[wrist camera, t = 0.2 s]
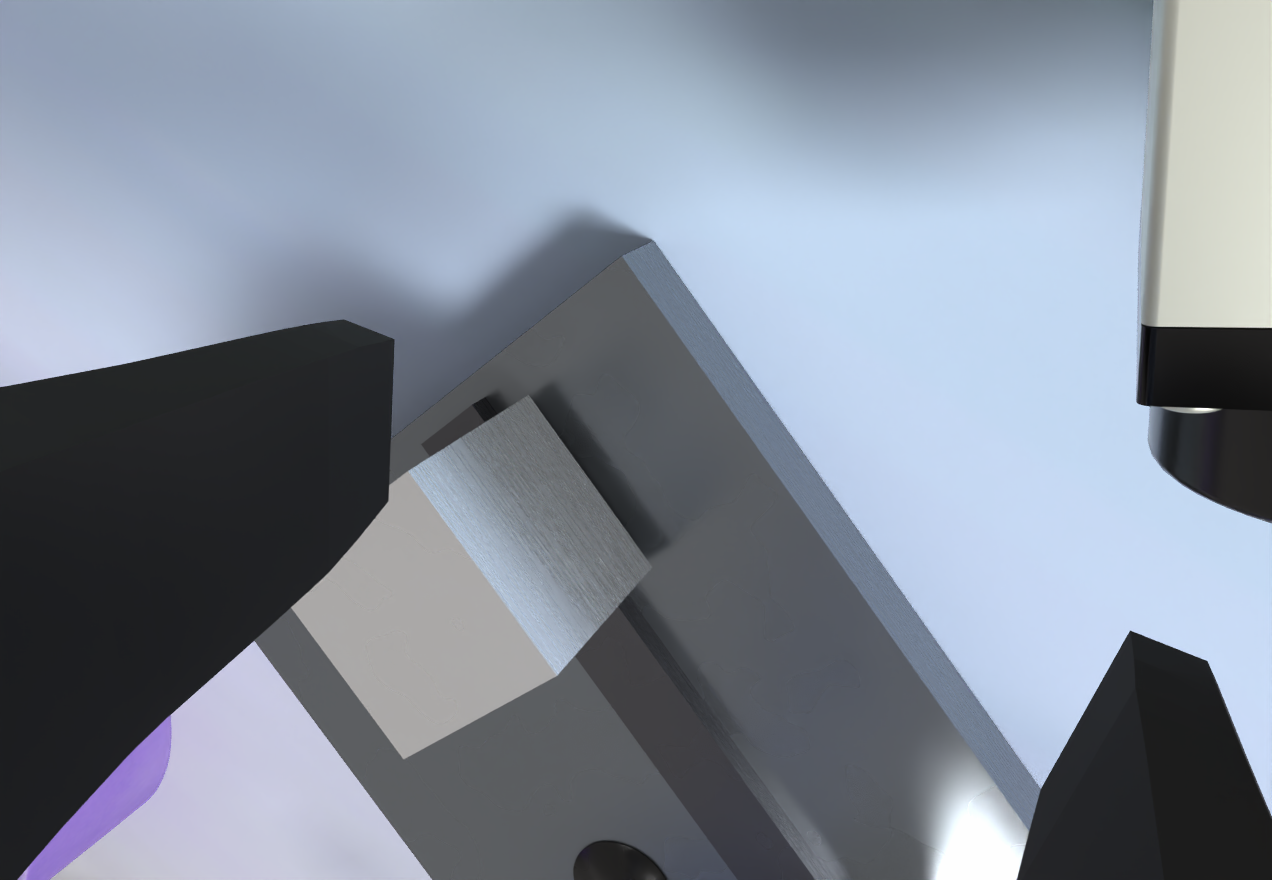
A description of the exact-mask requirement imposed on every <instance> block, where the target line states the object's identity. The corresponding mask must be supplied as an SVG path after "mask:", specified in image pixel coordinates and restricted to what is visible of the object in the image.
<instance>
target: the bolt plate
mask: <svg viewBox="0 0 1272 880" xmlns="http://www.w3.org/2000/svg"><path fill="white" fill-rule="evenodd" d="M254 641H255V642H256V643H257V645H258V646H259V648H260V649H261V650H262V652H263V653H264V654H265V656H266V657H267V658H268V660H269V661H270V662H271V664H272V665H273V666H274V668H275V669H276V670H277V672H278V673H279V674H280V676H281V677H282V678H283V680H284V681H285V682H286V684H287V685H288V686H289V688H290V689H291V690H292V692H293V693H294V695H295V696H296V697H297V699H298V700H299V701H300V703H301V704H302V705H303V707H304V708H305V709H306V711H307V712H308V713H309V715H310V716H311V717H312V719H313V720H314V721H315V723H316V724H317V725H318V727H319V728H320V729H321V731H322V732H323V733H324V735H325V736H326V737H327V739H328V740H329V742H330V743H331V744H332V746H333V747H334V748H335V750H336V751H337V752H338V754H339V755H340V756H341V758H342V759H343V760H344V762H345V763H346V764H347V766H348V767H349V768H350V770H351V771H352V772H353V774H354V775H355V776H356V778H357V779H358V780H359V782H360V783H361V784H362V786H363V787H364V789H365V790H366V791H367V793H368V794H369V795H370V797H371V798H372V799H373V801H374V802H375V803H376V805H377V806H378V807H379V809H380V810H381V811H382V813H383V814H384V815H385V817H386V818H387V819H388V821H389V822H390V823H391V825H392V826H393V827H394V829H395V830H396V831H397V833H398V834H399V835H400V837H401V838H402V840H403V841H404V842H405V844H406V845H407V846H408V848H409V849H410V850H411V852H412V853H413V854H414V856H415V857H416V858H417V860H418V861H419V862H420V864H421V865H422V866H423V868H424V869H425V870H426V872H427V873H428V874H429V876H430V877H431V878H432V880H1017V876H1018V872H1019V868H1020V865H1021V861H1022V857H1023V853H1024V849H1025V845H1026V841H1027V838H1028V834H1029V830H1030V827H1031V823H1032V819H1033V815H1034V812H1035V808H1036V804H1037V801H1038V797H1039V793H1040V790H1041V789H1040V788H1039V786H1038V785H1037V784H1036V782H1035V781H1034V779H1033V778H1032V776H1031V775H1030V774H1029V772H1028V771H1027V769H1026V768H1025V767H1024V765H1023V764H1022V762H1021V761H1020V759H1019V758H1018V757H1017V755H1016V754H1015V752H1014V751H1013V750H1012V748H1011V747H1010V745H1009V744H1008V742H1007V741H1006V740H1005V738H1004V737H1003V735H1002V734H1001V733H1000V731H999V730H998V728H997V727H996V725H995V724H994V723H993V721H992V720H991V718H990V717H989V716H988V714H987V713H986V711H985V710H984V708H983V707H982V706H981V704H980V703H979V701H978V700H977V699H976V697H975V696H974V694H973V693H972V691H971V690H970V689H969V687H968V686H967V684H966V683H965V681H964V680H963V679H962V677H961V676H960V674H959V673H958V672H957V670H956V669H955V667H954V666H953V664H952V663H951V662H950V660H949V659H948V657H947V656H946V655H945V653H944V652H943V650H942V649H941V647H940V646H939V645H938V643H937V642H936V640H935V639H934V638H933V636H932V635H931V633H930V632H929V630H928V629H927V628H926V626H925V625H924V623H923V622H922V621H921V619H920V618H919V616H918V615H917V613H916V612H915V611H914V609H913V608H912V606H911V605H910V604H909V602H908V601H907V599H906V598H905V596H904V595H903V594H902V592H901V591H900V589H899V588H898V587H897V585H896V584H895V582H894V581H893V579H892V578H891V577H890V575H889V574H888V572H887V571H886V569H885V568H884V567H883V565H882V564H881V562H880V561H879V560H878V558H877V557H876V555H875V554H874V552H873V551H872V550H871V548H870V547H869V545H868V544H867V543H866V541H865V540H864V538H863V537H862V535H861V534H860V533H859V531H858V530H857V528H856V527H855V526H854V524H853V523H852V521H851V520H850V518H849V517H848V516H847V514H846V513H845V511H844V510H843V509H842V507H841V506H840V504H839V503H838V501H837V500H836V499H835V497H834V496H833V494H832V493H831V492H830V490H829V489H828V487H827V486H826V484H825V483H824V482H823V480H822V479H821V477H820V476H819V475H818V473H817V472H816V470H815V469H814V467H813V466H812V465H811V463H810V462H809V460H808V459H807V457H806V456H805V455H804V453H803V452H802V450H801V449H800V448H799V446H798V445H797V443H796V442H795V440H794V439H793V438H792V436H791V435H790V433H789V432H788V431H787V429H786V428H785V426H784V425H783V423H782V422H781V421H780V419H779V418H778V416H777V415H776V414H775V412H774V411H773V409H772V408H771V406H770V405H769V404H768V402H767V401H766V399H765V398H764V397H763V395H762V394H761V392H760V391H759V389H758V388H757V387H756V385H755V384H754V382H753V381H752V380H751V378H750V377H749V375H748V374H747V372H746V371H745V370H744V368H743V367H742V365H741V364H740V363H739V361H738V360H737V358H736V357H735V355H734V354H733V353H732V351H731V350H730V348H729V347H728V345H727V344H726V343H725V341H724V340H723V338H722V337H721V336H720V334H719V333H718V331H717V330H716V328H715V327H714V326H713V324H712V323H711V321H710V320H709V319H708V317H707V316H706V314H705V313H704V311H703V310H702V309H701V307H700V306H699V304H698V303H697V302H696V300H695V299H694V297H693V296H692V294H691V293H690V292H689V290H688V289H687V287H686V286H685V285H684V283H683V282H682V280H681V279H680V277H679V276H678V275H677V273H676V272H675V270H674V269H673V268H672V266H671V265H670V263H669V262H668V260H667V259H666V258H665V256H664V255H663V253H662V252H661V251H660V249H659V248H658V246H657V245H656V243H655V242H654V241H652V242H650V243H648V244H646V245H644V246H641V247H639V248H637V249H635V250H633V251H631V252H629V253H627V254H625V255H623V256H621V257H620V258H618V259H617V260H616V261H615V262H613V263H612V264H611V265H610V266H608V267H607V268H606V269H605V270H603V271H602V272H601V273H600V274H598V275H597V276H596V277H595V278H593V279H592V280H591V281H589V282H588V283H587V284H586V285H584V286H583V287H582V288H581V289H579V290H578V291H577V292H576V293H574V294H573V295H572V296H571V297H569V298H568V299H567V300H566V301H564V302H563V303H562V304H561V305H559V306H558V307H557V308H555V309H554V310H553V311H552V312H550V313H549V314H548V315H547V316H545V317H544V318H543V319H542V320H540V321H539V322H538V323H537V324H535V325H534V326H533V327H532V328H530V329H529V330H528V331H527V332H525V333H524V334H523V335H522V336H520V337H519V338H518V339H516V340H515V341H514V342H513V343H511V344H510V345H509V346H508V347H506V348H505V349H504V350H503V351H501V352H500V353H499V354H498V355H496V356H495V357H494V358H493V359H491V360H490V361H489V362H488V363H486V364H485V365H484V366H482V367H481V368H480V369H479V370H477V371H476V372H475V373H474V374H472V375H471V376H470V377H469V378H467V379H466V380H465V381H464V382H462V383H461V384H460V385H459V386H457V387H456V388H455V389H454V390H452V391H451V392H450V393H448V394H447V395H446V396H445V397H443V398H442V399H441V400H440V401H438V402H437V403H436V404H435V405H433V406H432V407H431V408H430V409H428V410H427V411H426V412H425V413H423V414H422V415H421V416H420V417H418V418H417V419H416V420H414V421H413V422H412V423H411V424H409V425H408V426H407V427H406V428H404V429H403V430H402V431H401V432H399V433H398V434H397V435H396V436H394V437H393V438H392V439H391V447H390V475H389V501H388V503H387V504H386V505H385V506H384V508H383V509H382V510H381V511H380V513H379V514H378V515H377V516H376V518H375V519H374V520H373V521H372V523H371V524H370V525H369V526H368V528H367V529H366V530H365V531H364V532H363V534H362V535H361V536H360V537H359V539H358V540H357V541H356V542H355V543H354V545H353V546H352V547H351V548H350V549H349V550H348V551H347V553H346V554H345V555H344V556H343V557H342V558H341V559H340V561H339V562H338V563H337V564H336V565H335V566H334V567H333V569H332V570H331V571H330V572H329V573H328V574H327V575H326V576H325V577H324V578H323V579H322V580H320V581H319V582H318V583H317V584H316V585H315V586H314V587H313V588H312V589H311V590H310V591H309V592H308V593H306V594H305V595H304V596H303V597H302V598H301V599H300V600H299V601H298V602H297V603H295V604H294V605H293V606H292V607H291V608H290V609H289V610H288V611H287V612H286V613H284V614H283V615H282V616H281V617H280V618H279V619H278V620H277V621H276V622H274V623H273V624H272V625H271V626H270V627H269V628H268V629H267V630H266V631H264V632H263V633H262V634H261V635H260V636H259V637H258V638H256V639H255V640H254Z"/></svg>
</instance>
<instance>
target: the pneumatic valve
mask: <svg viewBox="0 0 1272 880" xmlns="http://www.w3.org/2000/svg"><path fill="white" fill-rule="evenodd" d="M1136 402H1137V403H1138V404H1141V405H1144V406H1150V414H1149V429H1148V443H1149V447H1150V450H1151V454H1152V456H1153V457H1154V459H1155V460H1156V461H1157V463H1158V464H1159V465H1160V466H1161V468H1162V469H1163V470H1164V471H1165V472H1166V473H1167V474H1169V475H1170V476H1171V477H1173V478H1174V479H1175V480H1176V481H1178V482H1179V483H1180V484H1182V485H1183V486H1184V487H1186V488H1188V489H1190V490H1191V491H1193V492H1195V493H1196V494H1198V495H1200V496H1202V497H1204V498H1206V499H1208V500H1210V501H1213V502H1215V503H1217V504H1219V505H1222V506H1224V507H1226V508H1229V509H1232V510H1234V511H1237V512H1239V513H1242V514H1245V515H1247V516H1250V517H1254V518H1257V519H1260V520H1263V521H1266V522H1269V523H1272V0H1154V1H1153V18H1152V34H1151V51H1150V68H1149V84H1148V101H1147V117H1146V134H1145V150H1144V167H1143V184H1142V200H1141V217H1140V233H1139V250H1138V315H1137V384H1136Z"/></svg>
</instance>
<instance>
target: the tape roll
mask: <svg viewBox="0 0 1272 880" xmlns="http://www.w3.org/2000/svg"><path fill="white" fill-rule="evenodd" d="M170 748H171V718H170V716H169V717H168V718H166V719H165V720H164V721H163V722H162V723H161V724H160V725H159V726H158V727H157V728H156V729H155V730H154V731H153V732H152V733H151V734H150V735H149V736H148V737H147V738H146V739H145V740H144V741H143V742H142V743H141V744H140V745H138V746H137V747H136V748H135V749H134V750H133V751H132V752H131V753H130V754H129V755H128V757H127V758H126V759H125V760H124V761H123V762H122V763H121V764H120V765H119V766H118V767H117V769H116V770H115V771H114V772H113V773H112V774H111V775H110V776H109V777H108V778H107V779H106V781H105V782H104V783H103V784H102V785H101V786H100V787H99V788H98V789H97V790H96V791H95V793H94V794H93V795H92V796H91V797H90V798H89V799H88V800H87V801H86V802H85V803H84V805H83V806H82V807H81V808H80V809H79V810H78V811H77V812H76V813H75V814H74V815H73V817H72V818H71V819H70V820H69V821H68V822H67V823H66V824H65V825H64V826H63V827H62V829H61V830H60V831H59V832H58V833H57V834H56V835H55V837H54V838H53V839H52V840H51V841H50V842H49V844H48V845H47V846H46V847H45V848H44V849H43V851H42V852H41V853H40V854H39V855H38V856H37V857H36V859H35V860H34V861H33V862H32V863H31V864H30V866H29V867H28V868H27V869H26V870H25V871H24V873H23V874H22V875H21V876H20V877H19V878H18V879H17V880H50V879H51V878H52V877H53V876H55V875H56V874H57V873H58V872H60V871H61V870H62V869H63V868H65V867H66V866H67V865H68V864H70V863H71V862H72V861H73V860H75V859H76V858H77V857H78V856H80V855H81V854H82V853H83V852H85V851H86V850H87V849H88V848H90V847H91V846H92V845H93V844H94V843H96V842H97V841H98V840H99V839H101V838H102V837H103V836H104V835H106V834H107V833H108V832H109V831H111V830H112V829H113V828H114V827H116V826H117V825H118V824H119V823H121V822H122V821H123V820H124V819H125V818H127V817H128V816H129V815H130V814H132V813H133V812H134V811H135V810H137V809H138V808H139V807H140V806H142V805H143V804H144V803H145V802H146V801H147V800H149V799H150V797H151V796H152V795H153V794H154V793H155V791H156V790H157V788H158V787H159V785H160V783H161V781H162V779H163V776H164V774H165V771H166V768H167V765H168V761H169V757H170Z"/></svg>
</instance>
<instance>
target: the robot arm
mask: <svg viewBox="0 0 1272 880" xmlns="http://www.w3.org/2000/svg"><path fill="white" fill-rule="evenodd" d="M393 364H394V339H392V338H389V337H387V336H384V335H382V334H379V333H377V332H374V331H372V330H369V329H367V328H364V327H362V326H359V325H357V324H354V323H351V322H349V321H346V320H337V321H329V322H321V323H315V324H309V325H303V326H298V327H293V328H288V329H283V330H278V331H273V332H268V333H264V334H259V335H254V336H250V337H245V338H241V339H236V340H232V341H227V342H223V343H218V344H214V345H209V346H204V347H200V348H195V349H191V350H186V351H182V352H177V353H173V354H168V355H164V356H159V357H155V358H150V359H146V360H141V361H136V362H132V363H127V364H122V365H117V366H112V367H107V368H101V369H96V370H91V371H85V372H80V373H75V374H69V375H64V376H59V377H53V378H48V379H43V380H38V381H32V382H27V383H22V384H16V385H11V386H5V387H0V880H17V879H18V878H19V877H20V876H21V875H22V874H23V873H24V871H25V870H26V869H27V868H28V867H29V866H30V864H31V863H32V862H33V861H34V860H35V859H36V857H37V856H38V855H39V854H40V853H41V852H42V851H43V849H44V848H45V847H46V846H47V845H48V844H49V842H50V841H51V840H52V839H53V838H54V837H55V835H56V834H57V833H58V832H59V831H60V830H61V829H62V827H63V826H64V825H65V824H66V823H67V822H68V821H69V820H70V819H71V818H72V817H73V815H74V814H75V813H76V812H77V811H78V810H79V809H80V808H81V807H82V806H83V805H84V803H85V802H86V801H87V800H88V799H89V798H90V797H91V796H92V795H93V794H94V793H95V791H96V790H97V789H98V788H99V787H100V786H101V785H102V784H103V783H104V782H105V781H106V779H107V778H108V777H109V776H110V775H111V774H112V773H113V772H114V771H115V770H116V769H117V767H118V766H119V765H120V764H121V763H122V762H123V761H124V760H125V759H126V758H127V757H128V755H129V754H130V753H131V752H132V751H133V750H134V749H135V748H136V747H137V746H138V745H140V744H141V743H142V742H143V741H144V740H145V739H146V738H147V737H148V736H149V735H150V734H151V733H152V732H153V731H154V730H155V729H156V728H157V727H158V726H159V725H160V724H161V723H162V722H163V721H164V720H165V719H166V718H168V717H169V716H170V715H171V714H172V713H173V712H174V711H175V710H177V709H178V708H179V707H180V706H181V705H182V704H183V703H184V702H186V701H187V700H188V699H189V698H190V697H191V696H192V695H193V694H195V693H196V692H197V691H198V690H199V689H200V688H201V687H202V686H204V685H205V684H206V683H207V682H208V681H209V680H210V679H211V678H213V677H214V676H215V675H216V674H217V673H218V672H219V671H220V670H222V669H223V668H224V667H225V666H226V665H227V664H228V663H229V662H231V661H232V660H233V659H234V658H235V657H236V656H237V655H238V654H240V653H241V652H242V651H243V650H244V649H245V648H246V647H247V646H249V645H250V644H251V643H252V642H253V641H254V640H255V639H256V638H258V637H259V636H260V635H261V634H262V633H263V632H264V631H266V630H267V629H268V628H269V627H270V626H271V625H272V624H273V623H274V622H276V621H277V620H278V619H279V618H280V617H281V616H282V615H283V614H284V613H286V612H287V611H288V610H289V609H290V608H291V607H292V606H293V605H294V604H295V603H297V602H298V601H299V600H300V599H301V598H302V597H303V596H304V595H305V594H306V593H308V592H309V591H310V590H311V589H312V588H313V587H314V586H315V585H316V584H317V583H318V582H319V581H320V580H322V579H323V578H324V577H325V576H326V575H327V574H328V573H329V572H330V571H331V570H332V569H333V567H334V566H335V565H336V564H337V563H338V562H339V561H340V559H341V558H342V557H343V556H344V555H345V554H346V553H347V551H348V550H349V549H350V548H351V547H352V546H353V545H354V543H355V542H356V541H357V540H358V539H359V537H360V536H361V535H362V534H363V532H364V531H365V530H366V529H367V528H368V526H369V525H370V524H371V523H372V521H373V520H374V519H375V518H376V516H377V515H378V514H379V513H380V511H381V510H382V509H383V508H384V506H385V505H386V504H387V503H388V501H389V475H390V447H391V420H392V392H393ZM1017 880H1272V816H1271V814H1270V811H1269V809H1268V807H1267V805H1266V802H1265V800H1264V797H1263V795H1262V793H1261V790H1260V788H1259V785H1258V783H1257V781H1256V778H1255V776H1254V773H1253V771H1252V769H1251V766H1250V764H1249V761H1248V759H1247V756H1246V754H1245V752H1244V749H1243V747H1242V744H1241V742H1240V739H1239V737H1238V734H1237V732H1236V729H1235V727H1234V724H1233V722H1232V719H1231V717H1230V714H1229V712H1228V709H1227V707H1226V704H1225V702H1224V699H1223V697H1222V694H1221V692H1220V689H1219V687H1218V684H1217V682H1216V680H1215V677H1214V675H1213V673H1212V671H1211V668H1210V666H1209V664H1208V662H1207V661H1206V660H1203V659H1200V658H1198V657H1195V656H1193V655H1190V654H1188V653H1185V652H1183V651H1180V650H1178V649H1175V648H1173V647H1170V646H1168V645H1165V644H1163V643H1160V642H1158V641H1155V640H1152V639H1150V638H1147V637H1145V636H1142V635H1140V634H1137V633H1135V632H1132V631H1130V632H1129V634H1128V635H1127V637H1126V639H1125V641H1124V642H1123V644H1122V646H1121V648H1120V650H1119V651H1118V653H1117V655H1116V657H1115V658H1114V660H1113V662H1112V664H1111V666H1110V667H1109V669H1108V671H1107V673H1106V674H1105V676H1104V678H1103V680H1102V682H1101V683H1100V685H1099V687H1098V689H1097V690H1096V692H1095V694H1094V696H1093V698H1092V699H1091V701H1090V703H1089V705H1088V706H1087V708H1086V710H1085V712H1084V714H1083V715H1082V717H1081V719H1080V721H1079V722H1078V724H1077V726H1076V728H1075V730H1074V731H1073V733H1072V735H1071V737H1070V738H1069V740H1068V742H1067V744H1066V746H1065V747H1064V749H1063V751H1062V753H1061V754H1060V756H1059V758H1058V760H1057V762H1056V763H1055V765H1054V767H1053V769H1052V770H1051V772H1050V774H1049V776H1048V778H1047V779H1046V781H1045V783H1044V785H1043V786H1042V788H1041V790H1040V793H1039V797H1038V801H1037V804H1036V808H1035V812H1034V815H1033V819H1032V823H1031V827H1030V830H1029V834H1028V838H1027V841H1026V845H1025V849H1024V853H1023V857H1022V861H1021V865H1020V868H1019V872H1018V876H1017Z"/></svg>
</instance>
